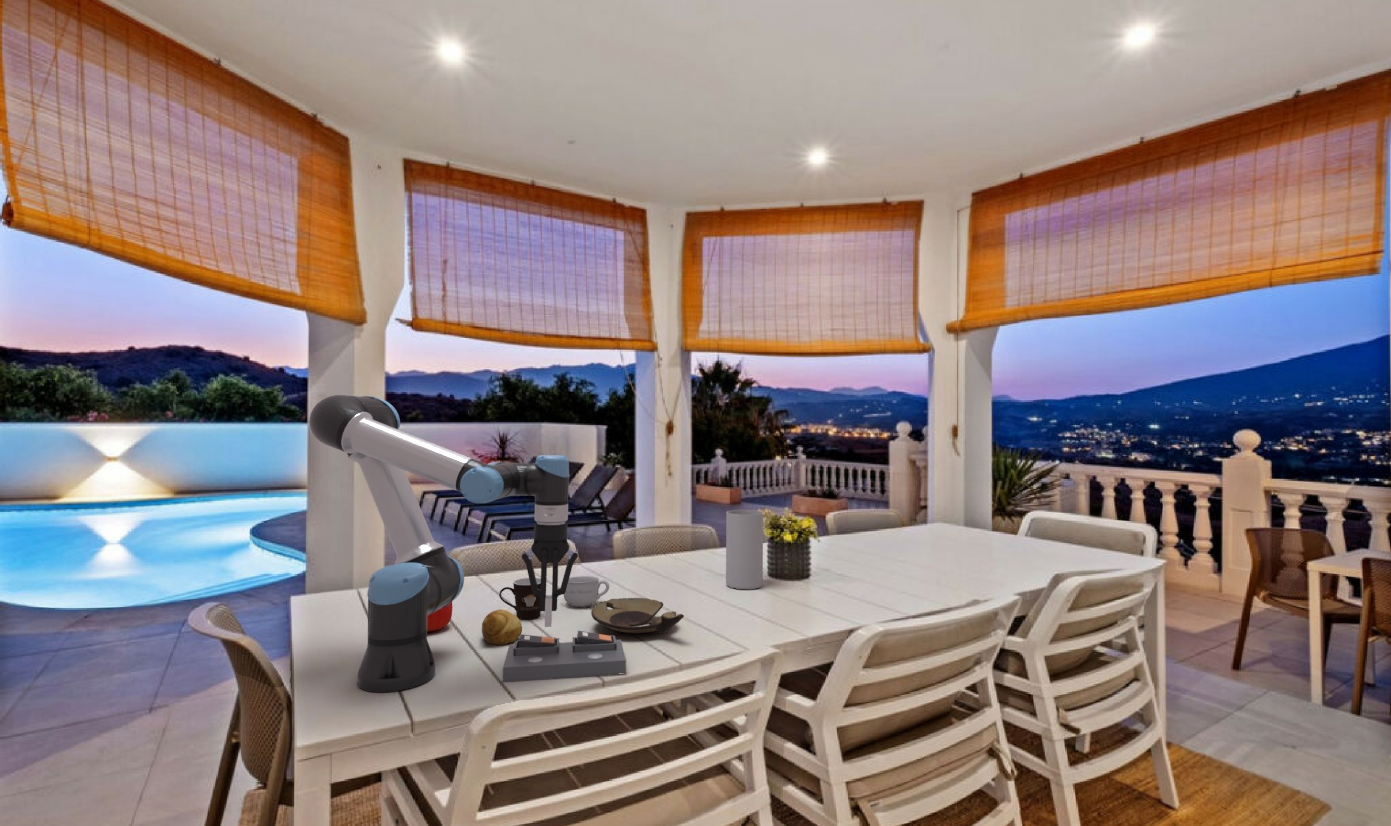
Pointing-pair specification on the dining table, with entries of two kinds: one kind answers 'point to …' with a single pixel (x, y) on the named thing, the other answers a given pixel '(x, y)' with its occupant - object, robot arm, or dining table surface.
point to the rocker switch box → (563, 660)
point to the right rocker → (593, 638)
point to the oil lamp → (634, 615)
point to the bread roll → (501, 627)
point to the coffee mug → (525, 599)
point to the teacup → (583, 590)
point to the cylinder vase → (744, 549)
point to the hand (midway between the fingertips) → (548, 624)
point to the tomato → (439, 618)
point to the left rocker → (536, 641)
